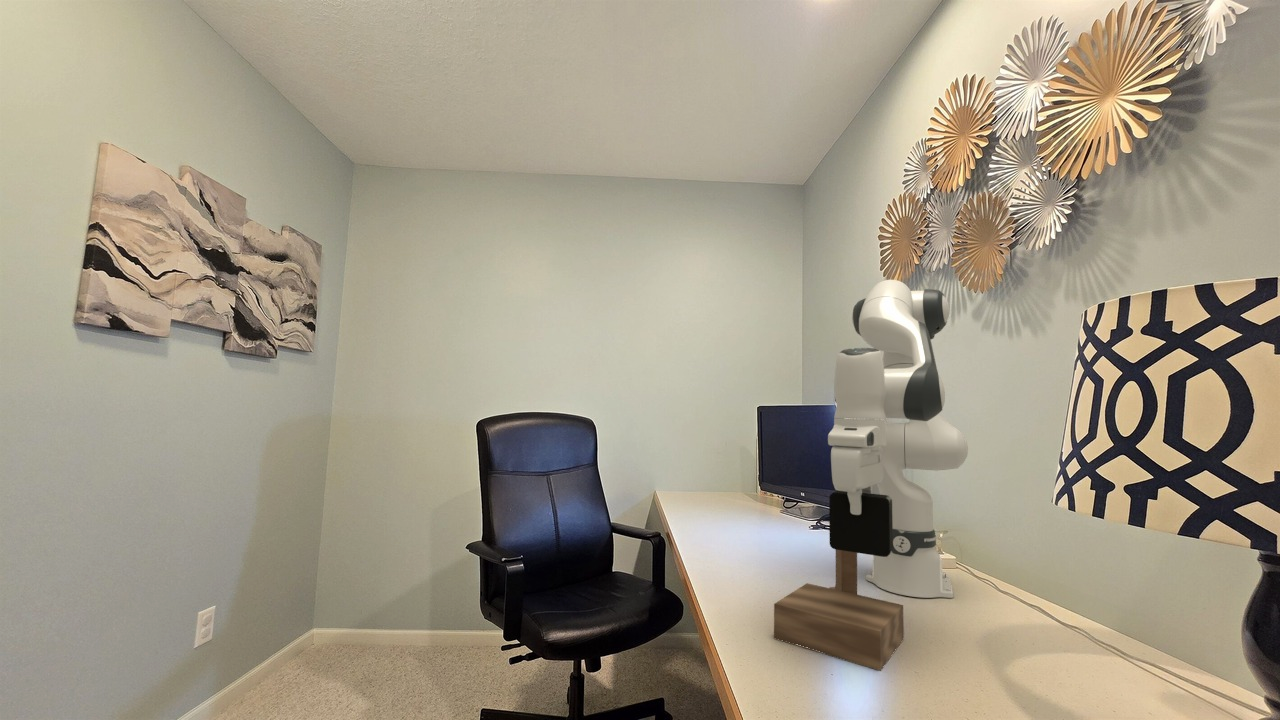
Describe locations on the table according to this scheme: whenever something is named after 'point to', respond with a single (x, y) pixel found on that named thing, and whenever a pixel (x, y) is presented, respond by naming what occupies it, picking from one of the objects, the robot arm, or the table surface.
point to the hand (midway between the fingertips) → (860, 512)
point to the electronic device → (861, 524)
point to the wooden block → (846, 571)
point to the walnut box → (840, 624)
